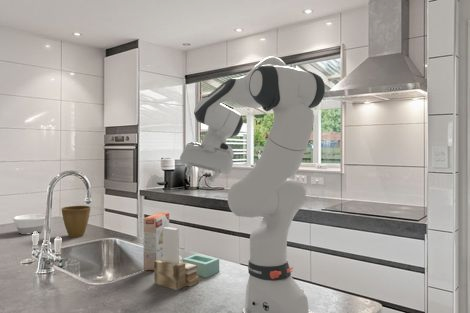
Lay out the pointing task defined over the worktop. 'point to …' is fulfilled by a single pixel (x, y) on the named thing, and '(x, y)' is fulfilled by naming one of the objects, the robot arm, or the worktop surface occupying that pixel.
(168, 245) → the white strip
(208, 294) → the worktop surface
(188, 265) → the offcut stack
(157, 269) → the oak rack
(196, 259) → the teal holder
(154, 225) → the cracker box
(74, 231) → the plant pot
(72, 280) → the worktop surface
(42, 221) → the bowl
